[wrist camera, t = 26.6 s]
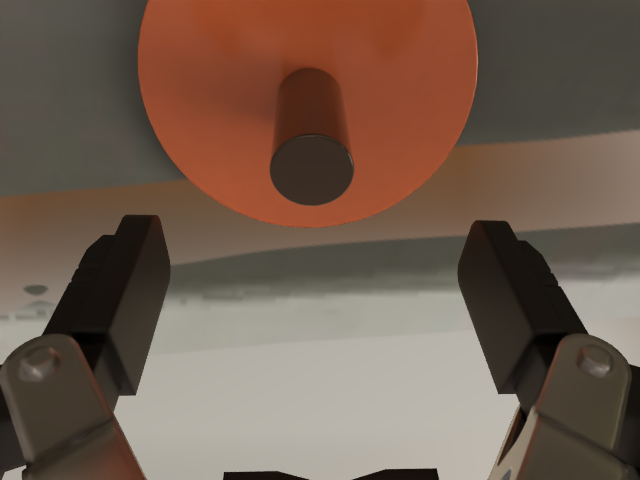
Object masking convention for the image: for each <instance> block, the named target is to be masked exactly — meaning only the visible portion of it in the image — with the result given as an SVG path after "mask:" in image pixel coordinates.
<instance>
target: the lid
mask: <svg viewBox="0 0 640 480" xmlns="http://www.w3.org/2000/svg"><path fill="white" fill-rule="evenodd" d="M137 51H138V77H139V83H140V90H141V95H142V99H143V102H144V106H145V109H146V112H147V116H148V118H149V120H150V123H151V125H152V127H153V130H154V132H155V134H156V136H157V138H158V139H159V141H160V143H161V145H162V146H163V148H164V150H165V151H166V153H167V154H168V155H169V157H170V158H171V159H172V161H173V162H174V163H175V165H176V166H177V167H178V168H179V170H180V171H181V172H182V173H183V174H184V175H185V176H186V177H187V178H188V179H189V180H190V181H191V182H192V183H194V184H195V185H196V186H197V187H198V188H200V189H201V190H202V191H203V192H204V193H206V194H207V195H208V196H210V197H211V198H213V199H215V200H216V201H218V202H219V203H221V204H222V205H224V206H226V207H228V208H230V209H232V210H234V211H236V212H238V213H240V214H243V215H246V216H248V217H251V218H253V219H256V220H260V221H264V222H267V223H271V224H276V225H282V226H288V227H304V228H312V227H328V226H335V225H342V224H346V223H350V222H354V221H358V220H361V219H364V218H366V217H369V216H372V215H375V214H377V213H379V212H381V211H383V210H385V209H387V208H389V207H391V206H393V205H394V204H396V203H398V202H399V201H401V200H403V199H404V198H406V197H407V196H409V195H410V194H411V193H412V192H414V191H415V190H416V189H418V188H419V187H420V186H421V185H422V184H423V183H424V182H426V181H427V180H428V179H429V178H430V177H431V176H432V175H433V174H434V173H435V171H436V170H437V169H438V168H439V167H440V165H441V164H442V163H443V162H444V161H445V159H446V158H447V156H448V155H449V153H450V151H451V150H452V149H453V147H454V146H455V144H456V143H457V141H458V139H459V137H460V135H461V133H462V130H463V128H464V126H465V124H466V121H467V119H468V116H469V113H470V110H471V107H472V104H473V99H474V94H475V90H476V85H477V74H478V45H477V36H476V31H475V26H474V21H473V16H472V13H471V10H470V7H469V5H468V2H467V0H148V2H147V4H146V8H145V11H144V15H143V19H142V22H141V26H140V34H139V42H138V50H137Z"/></svg>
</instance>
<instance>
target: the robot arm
mask: <svg viewBox="0 0 640 480" xmlns="http://www.w3.org/2000/svg"><path fill="white" fill-rule="evenodd" d="M169 280H170V259H169V255H168V250H167V246H166V242H165V238H164V234H163V230H162V225H161V222H160V219H159V217H158V216H157V215H125V216H124V217H123V219H122V221H121V223H120V225H119V227H118V229H117V231H116V233H115V235H103V236H101V237H100V238H99V239H98V240H97V241H96V242H95V243H93V245H91V246H90V247H89V248H88V249H87V250H86V252H85V254H84V256H83V258H82V260H81V262H80V264H79V268H78V269H76V271H75V273H74V275H73V277H72V281H71V283H69V284H68V286H67V289H66V290H65V292H64V294H63V296H62V298H61V300H60V302H59V303H58V305H57V307H56V309H55V311H54V313H53V315H52V317H51V319H50V321H49V323H48V324H47V326H46V328H45V330H44V332H43V334H42V335H41V336H39V337H36V338H34V339H31V340H29V341H27V342H25V343H24V344H22V345H21V346H19V347H18V348H17V349H15V350H14V351H13V352H12V353H11V354H10V355H9V356H8V357H7V359H6V360H5V362H4V363H3V364H2V365H0V480H2V478H3V475H4V472H6V471H9V470H12V469H15V468H18V467H21V466H24V465H26V469H24V470H23V471H22V480H147V479H146V477H145V475H144V473H143V471H142V469H141V467H140V465H139V463H138V461H137V459H136V457H135V455H134V453H133V451H132V449H131V447H130V445H129V443H128V441H127V439H126V437H125V435H124V433H123V431H122V429H121V427H120V425H119V423H118V421H117V419H116V417H115V415H114V413H113V412H114V409H115V406H116V403H117V400H118V397H119V396H123V395H124V396H125V395H126V396H128V395H136V392H137V389H138V385H139V382H140V379H141V376H142V372H143V369H144V365H145V362H146V359H147V355H148V352H149V349H150V345H151V342H152V339H153V335H154V332H155V328H156V325H157V322H158V318H159V315H160V312H161V308H162V305H163V301H164V298H165V295H166V291H167V288H168V285H169ZM458 283H459V287H460V289H461V292H462V295H463V298H464V300H465V303H466V306H467V309H468V311H469V314H470V317H471V320H472V323H473V325H474V328H475V331H476V334H477V336H478V339H479V342H480V345H481V347H482V350H483V353H484V356H485V358H486V361H487V364H488V366H489V369H490V372H491V375H492V378H493V380H494V383H495V386H496V389H497V391H498V394H516V395H517V397H518V400H519V402H520V404H519V406H518V407H517V409H516V411H515V414H514V416H513V419H512V421H511V424H510V426H509V429H508V431H507V434H506V436H505V439H504V441H503V444H502V446H501V449H500V451H499V454H498V456H497V459H496V461H495V464H494V466H493V469H492V471H491V473H490V475H489V478H488V480H640V367H637V366H633V365H630V364H628V362H627V360H626V359H625V357H624V356H623V355H622V354H621V353H620V352H619V351H618V350H617V349H616V348H615V347H613V346H612V345H611V344H609V343H608V342H606V341H604V340H602V339H600V338H598V337H595V336H592V335H589V334H588V332H587V330H586V329H585V327H584V325H583V324H582V322H581V320H580V319H579V317H578V315H577V314H576V312H575V310H574V308H573V307H572V305H571V303H570V302H569V300H568V298H567V297H566V295H565V293H564V292H563V290H562V288H561V287H560V286H558V281H557V280H556V278H555V276H554V275H553V273H551V270H550V268H549V266H548V265H547V263H546V261H545V259H544V258H543V256H542V254H540V253H539V252H538V251H537V250H536V249H535V248H534V247H532V246H531V245H530V244H529V243H528V242H527V241H518V240H517V238H516V236H515V234H514V232H513V230H512V229H511V227H510V225H509V224H508V222H506V221H487V220H486V221H485V220H484V221H482V220H476V221H475V222H474V223H473V224H472V226H471V229H470V232H469V234H468V237H467V240H466V243H465V246H464V249H463V252H462V255H461V258H460V261H459V264H458ZM223 480H308V479H305V478H301V477H297V476H293V475H290V474H286V473H282V472H278V471H264V472H224V477H223ZM353 480H439V477H438V473H437V469H436V468H435V469H385V470H382V471H379V472H375V473H372V474H369V475H366V476H362V477H359V478H356V479H353Z"/></svg>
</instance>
